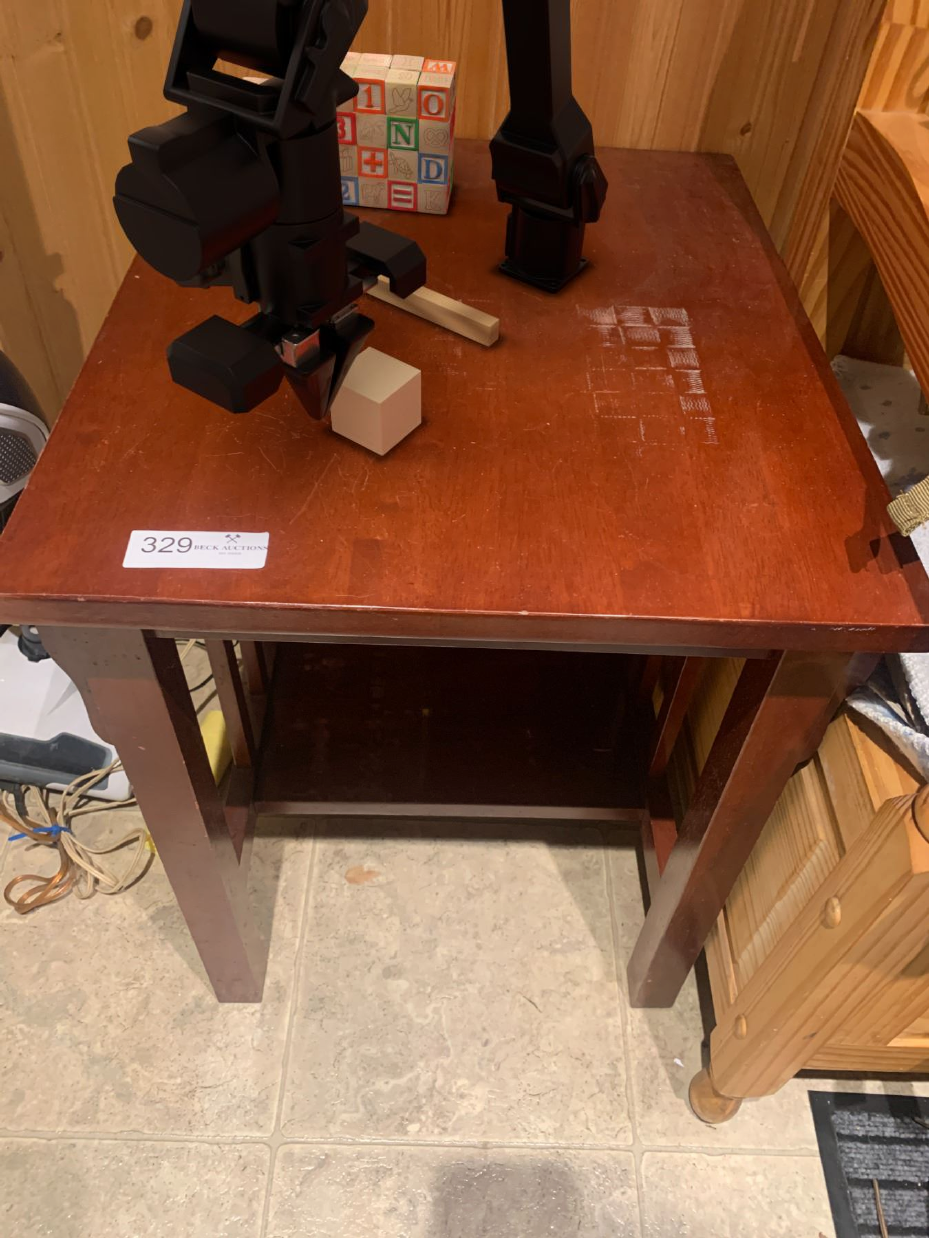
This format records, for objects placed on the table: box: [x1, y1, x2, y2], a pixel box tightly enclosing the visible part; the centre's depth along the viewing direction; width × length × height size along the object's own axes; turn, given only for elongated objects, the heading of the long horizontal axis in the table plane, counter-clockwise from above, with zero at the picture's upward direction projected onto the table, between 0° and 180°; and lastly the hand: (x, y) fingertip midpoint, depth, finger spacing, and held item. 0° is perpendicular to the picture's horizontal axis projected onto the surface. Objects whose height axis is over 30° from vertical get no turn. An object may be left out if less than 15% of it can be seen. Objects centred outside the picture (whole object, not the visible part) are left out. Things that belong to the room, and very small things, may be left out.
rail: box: [365, 275, 500, 348], centre depth 82 cm, size 18×2×2 cm, turn 55°
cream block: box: [330, 346, 422, 457], centre depth 70 cm, size 5×5×5 cm
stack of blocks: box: [242, 51, 457, 215], centre depth 91 cm, size 21×6×12 cm, turn 84°
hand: (317, 416), depth 65 cm, fingers closed
